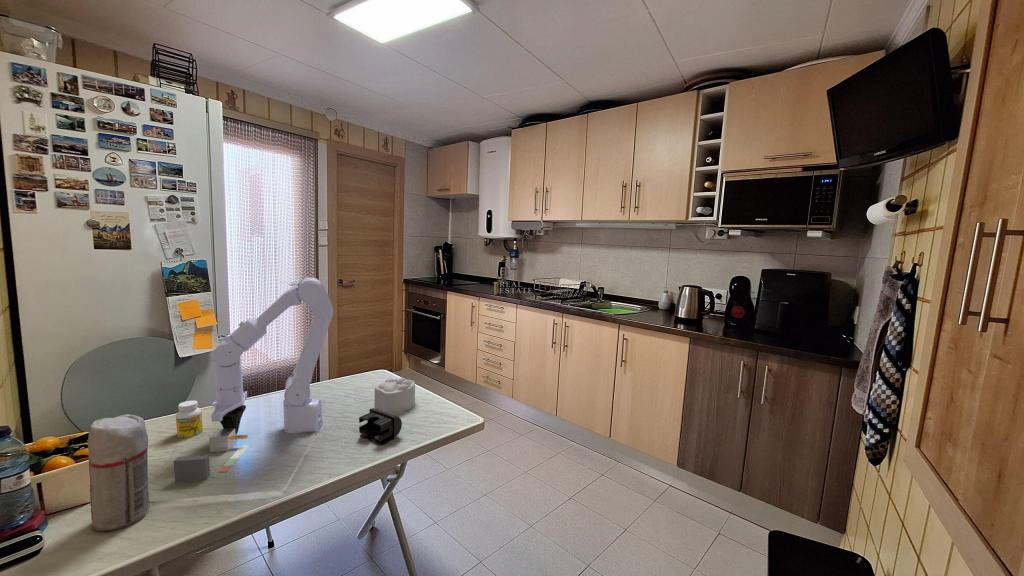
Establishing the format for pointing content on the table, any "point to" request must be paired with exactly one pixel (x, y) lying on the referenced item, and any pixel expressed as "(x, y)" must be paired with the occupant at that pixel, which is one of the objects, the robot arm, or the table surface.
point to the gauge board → (200, 466)
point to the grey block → (224, 439)
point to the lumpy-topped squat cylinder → (395, 395)
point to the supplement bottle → (189, 419)
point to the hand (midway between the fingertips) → (232, 434)
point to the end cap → (379, 427)
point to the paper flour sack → (118, 471)
